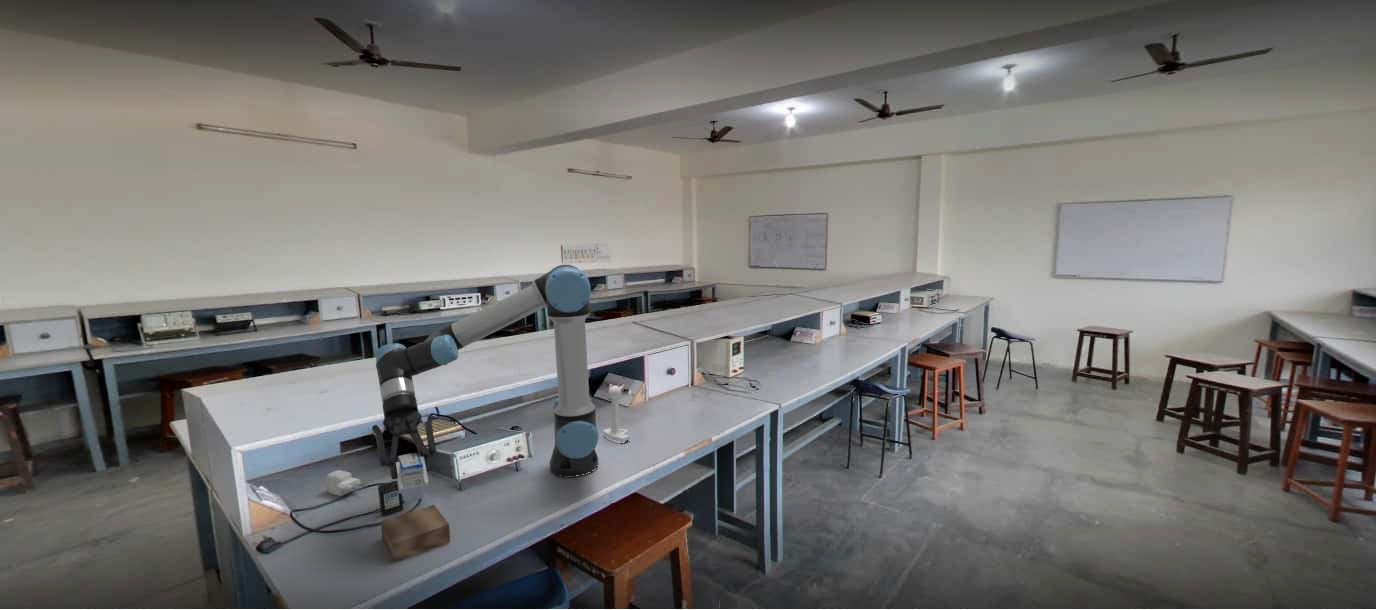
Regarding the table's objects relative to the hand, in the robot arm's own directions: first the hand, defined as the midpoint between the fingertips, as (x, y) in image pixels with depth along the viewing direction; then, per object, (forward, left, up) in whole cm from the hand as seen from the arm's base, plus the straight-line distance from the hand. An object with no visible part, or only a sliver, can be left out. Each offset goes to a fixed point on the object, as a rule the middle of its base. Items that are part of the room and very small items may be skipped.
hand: (413, 487), depth 123 cm
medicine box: (0, -4, -3) cm, 5 cm away
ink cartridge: (+3, -22, -15) cm, 27 cm away
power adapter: (+12, -40, -15) cm, 44 cm away
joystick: (-71, -33, -15) cm, 80 cm away
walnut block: (0, -4, -16) cm, 16 cm away
